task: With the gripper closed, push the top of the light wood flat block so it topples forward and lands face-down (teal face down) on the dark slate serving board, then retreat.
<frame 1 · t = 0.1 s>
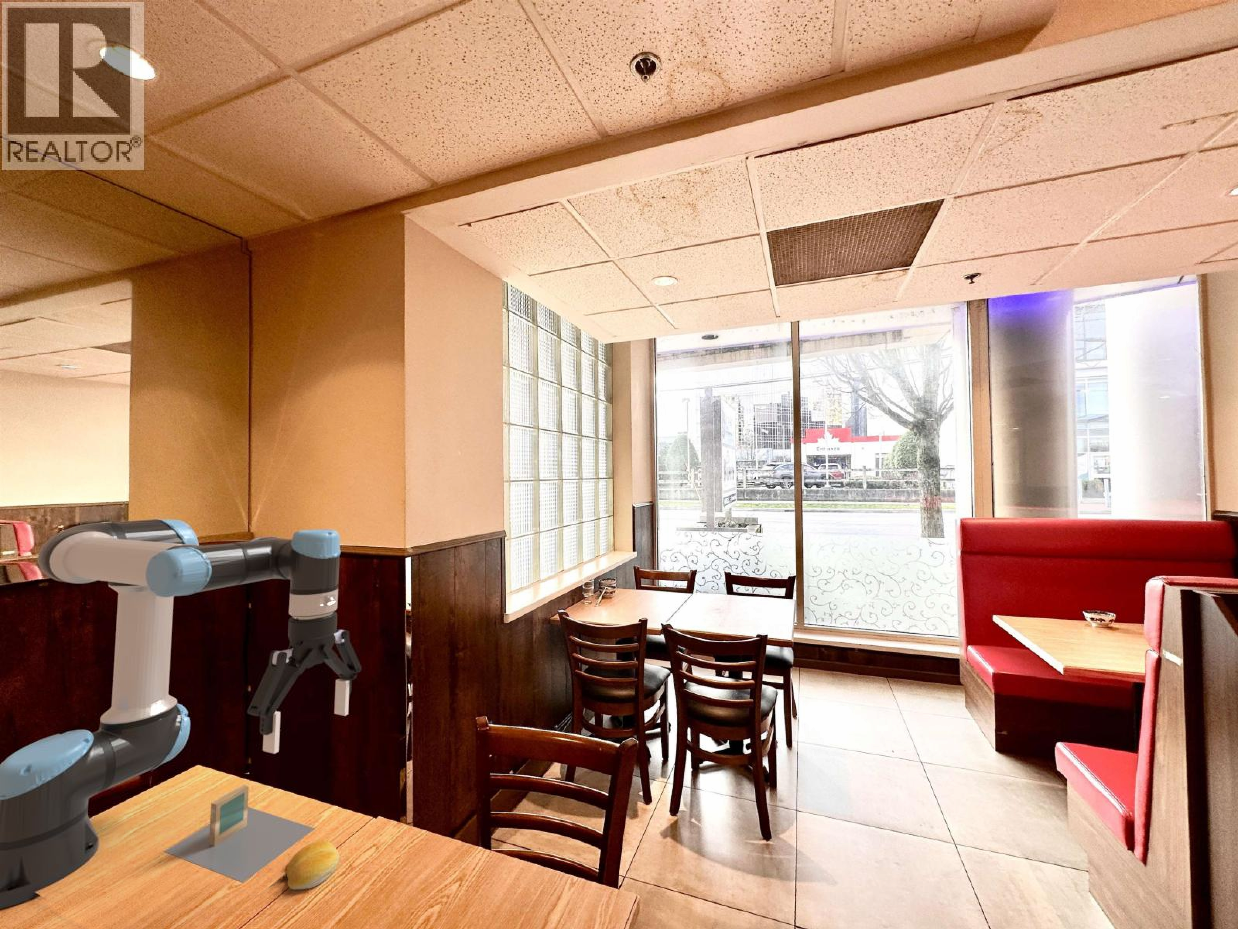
hand: (308, 731, 85), 28 cm above the table, fingers open, 13 cm apart
slate board: (241, 845, 94), on the table
bread roll: (312, 873, 88), on the table
light wood flat block: (228, 834, 95), point 1 cm above the table, touching slate board
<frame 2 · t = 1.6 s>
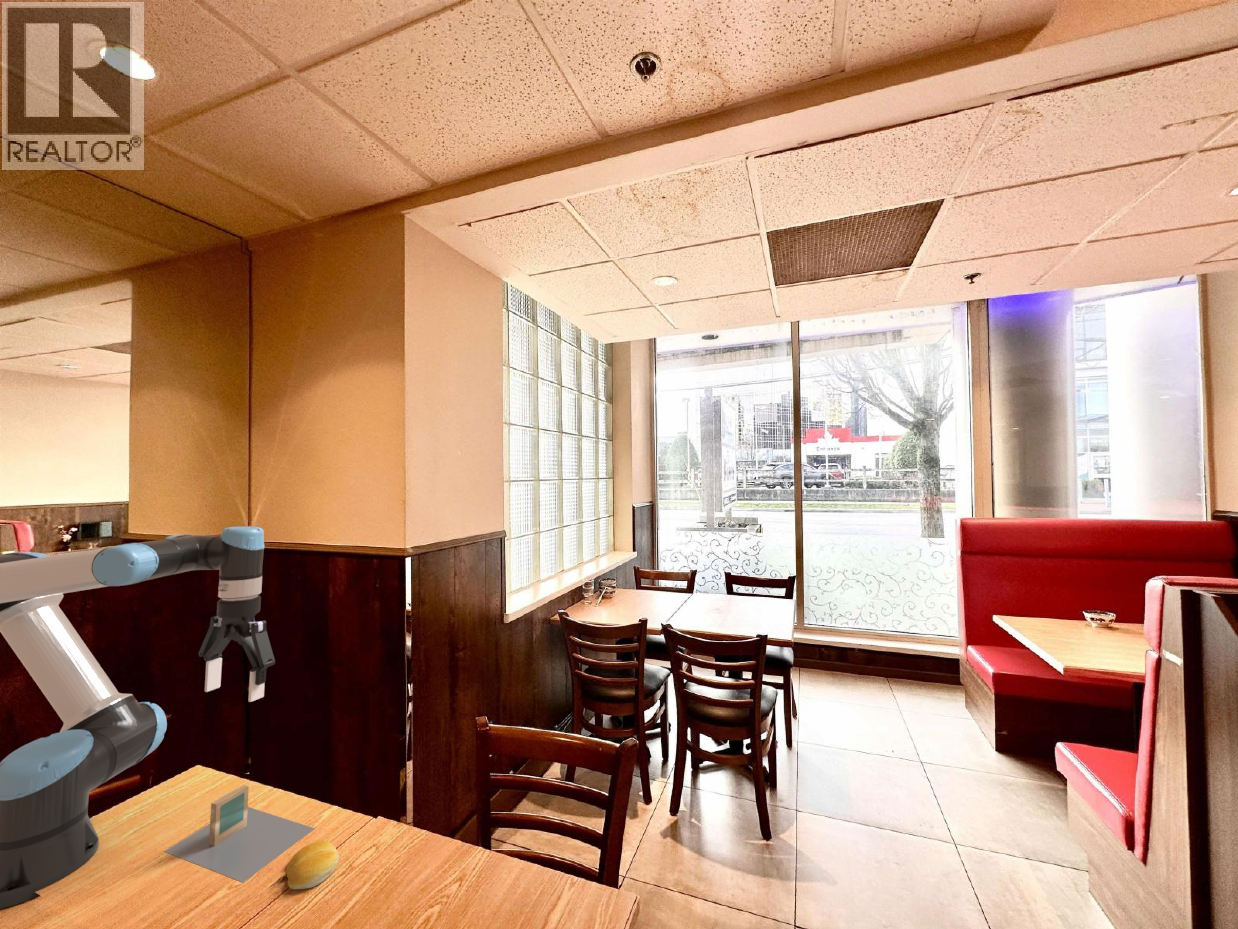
hand: (233, 694, 103), 27 cm above the table, fingers open, 13 cm apart
nothing on the table moved.
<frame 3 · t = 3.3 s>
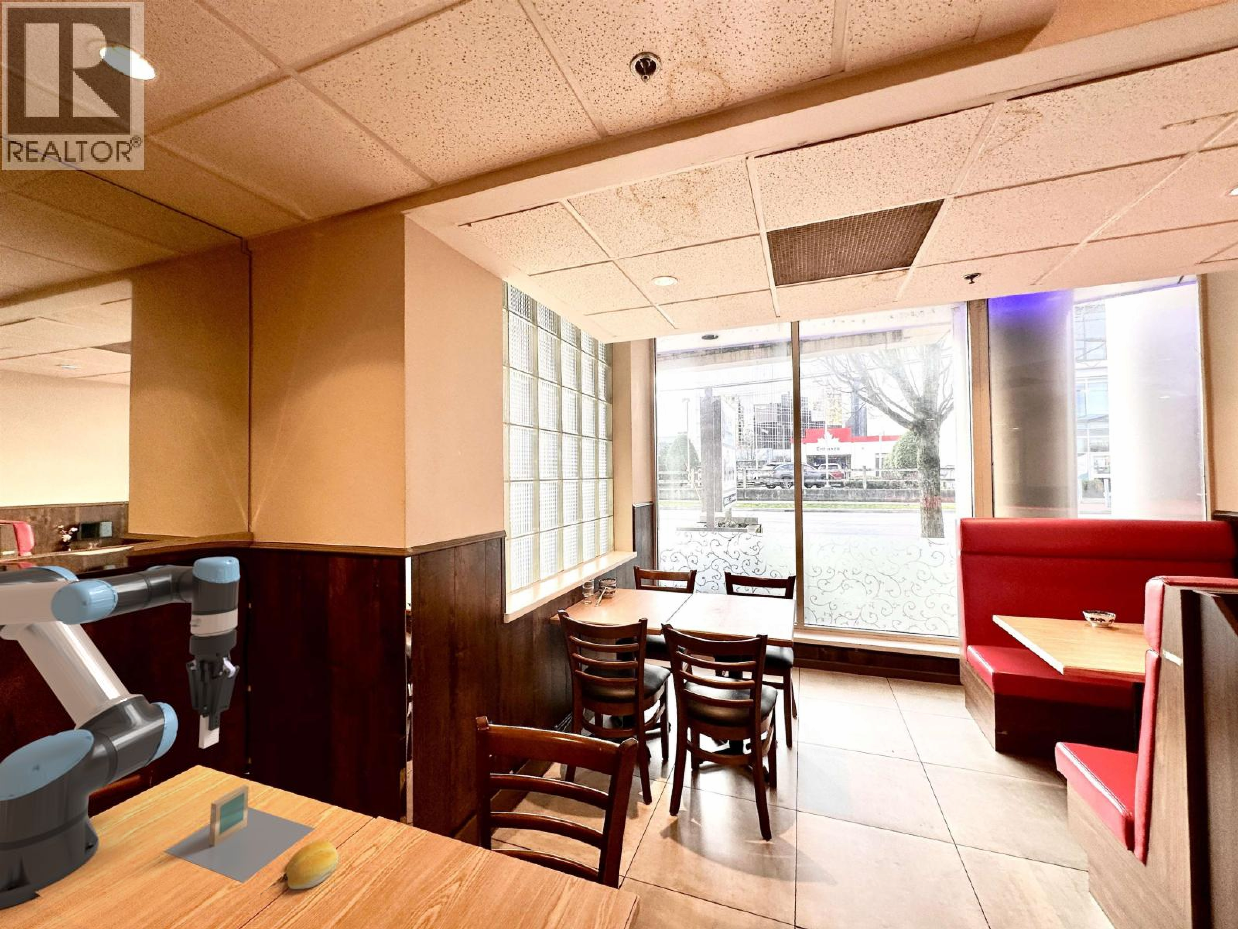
hand: (208, 744, 98), 18 cm above the table, fingers closed
nothing on the table moved.
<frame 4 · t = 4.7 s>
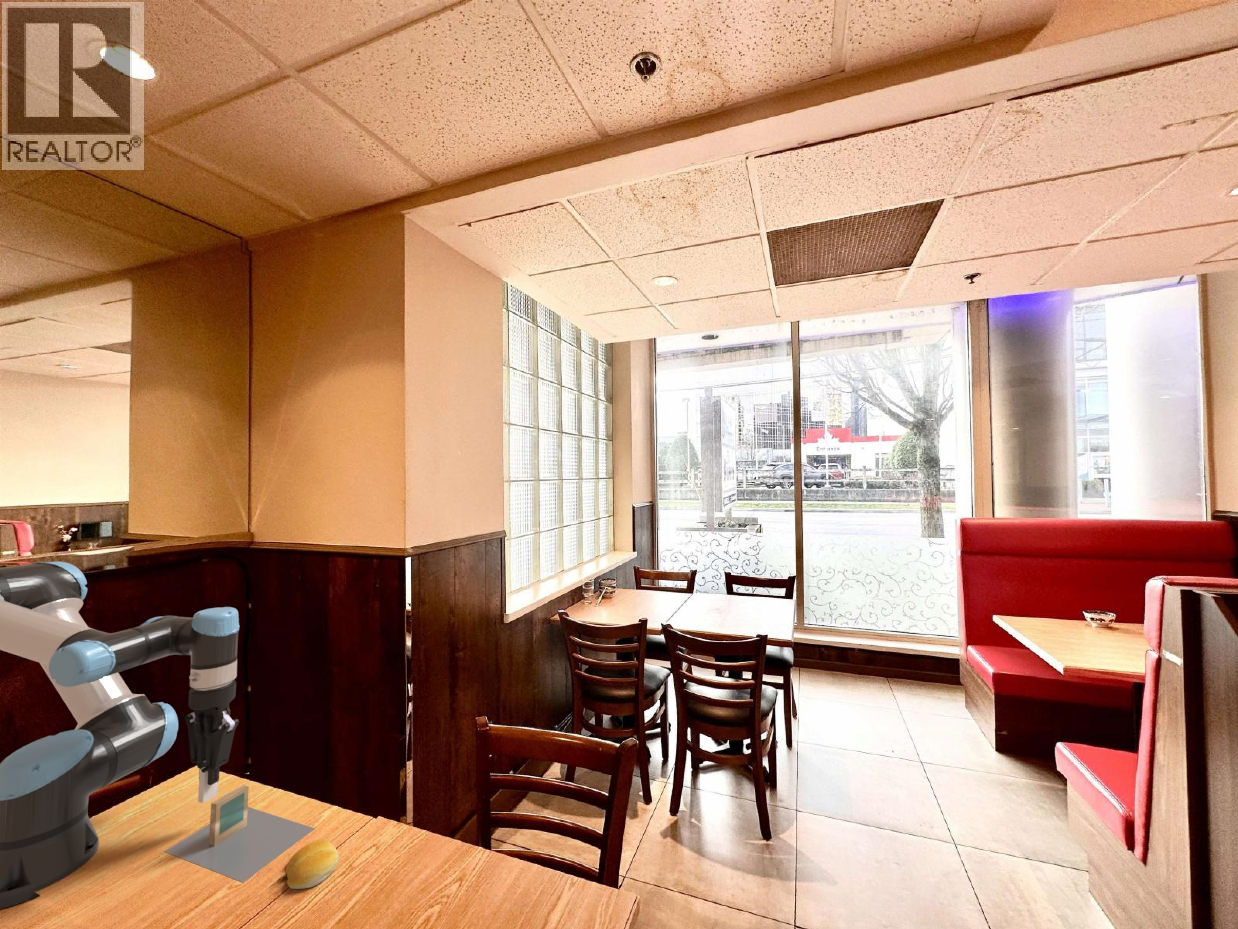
hand: (208, 798, 98), 7 cm above the table, fingers closed
nothing on the table moved.
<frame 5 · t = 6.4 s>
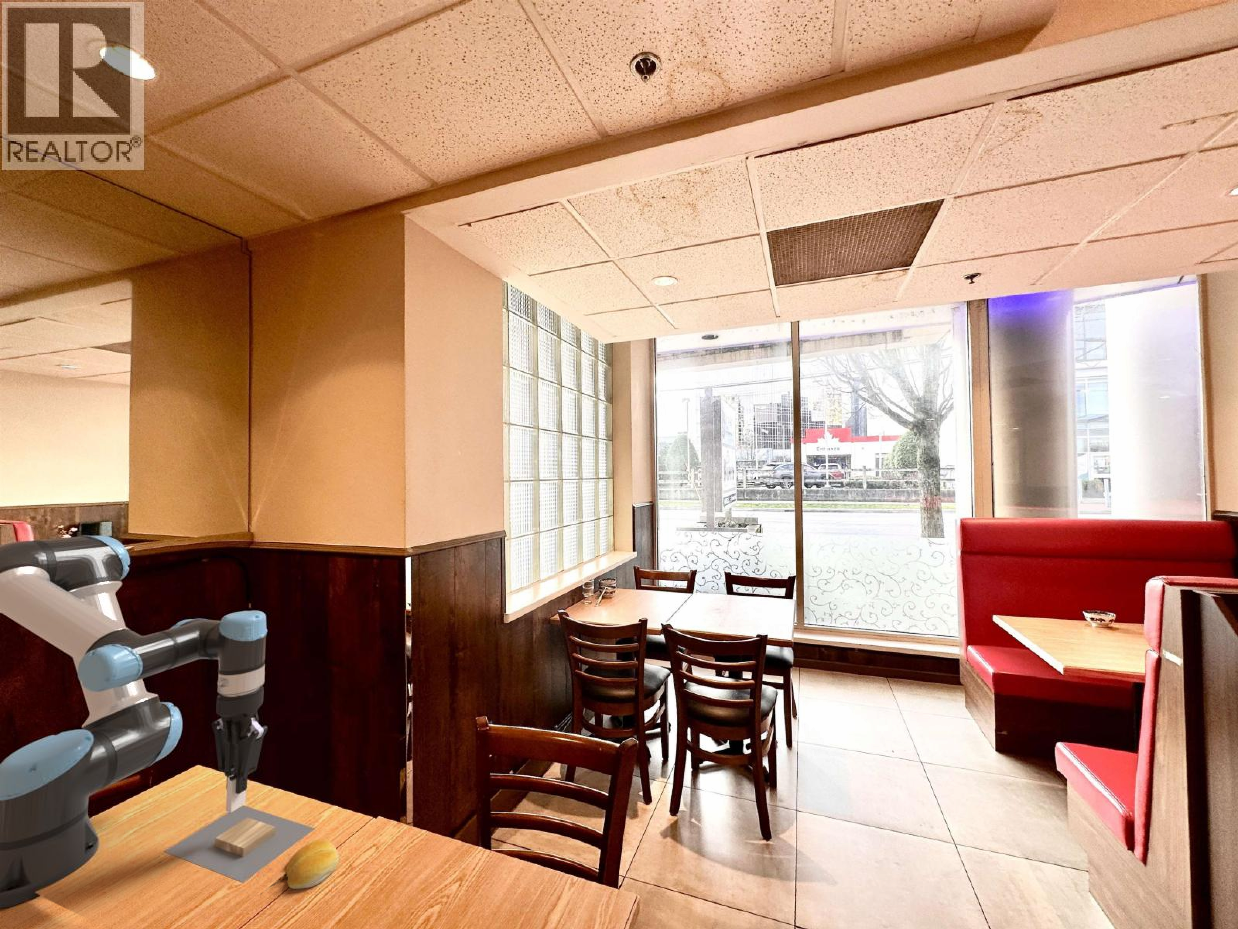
hand: (235, 807, 95), 7 cm above the table, fingers closed
light wood flat block: (231, 831, 95), point 2 cm above the table, tilted 90°, touching slate board
everything else where it was.
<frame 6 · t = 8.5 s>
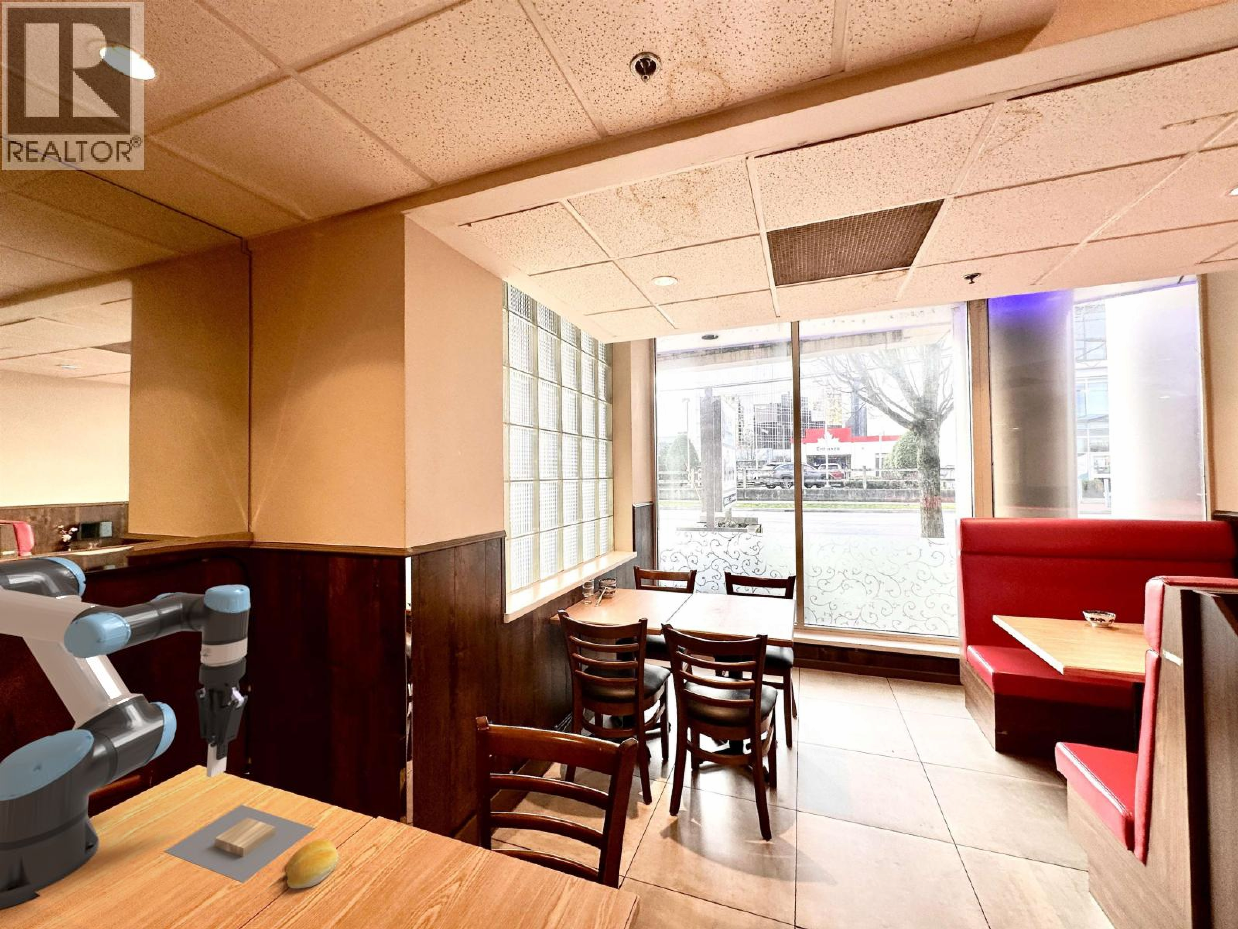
hand: (216, 773, 99), 12 cm above the table, fingers closed
nothing on the table moved.
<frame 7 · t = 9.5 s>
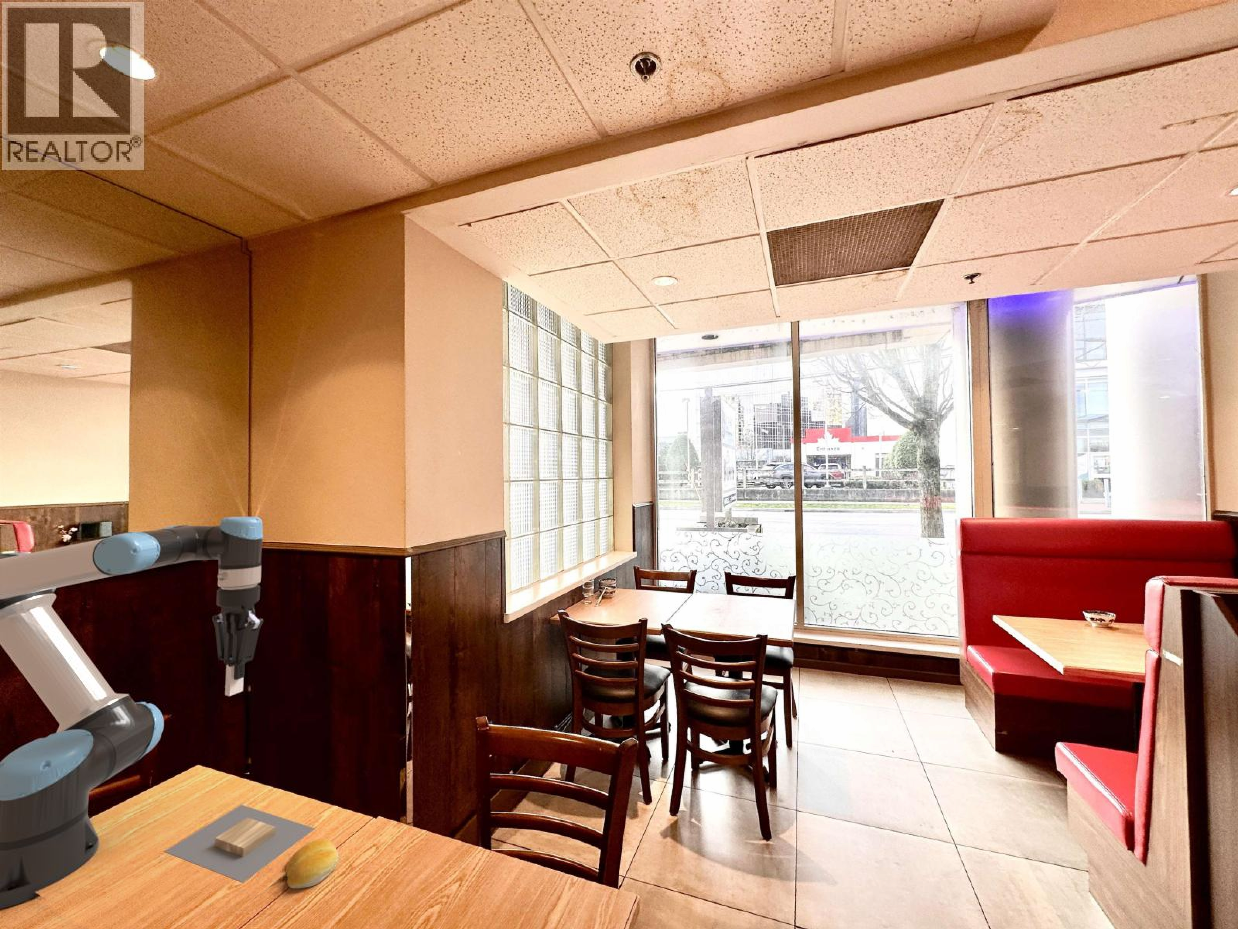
hand: (234, 693, 104), 26 cm above the table, fingers closed
nothing on the table moved.
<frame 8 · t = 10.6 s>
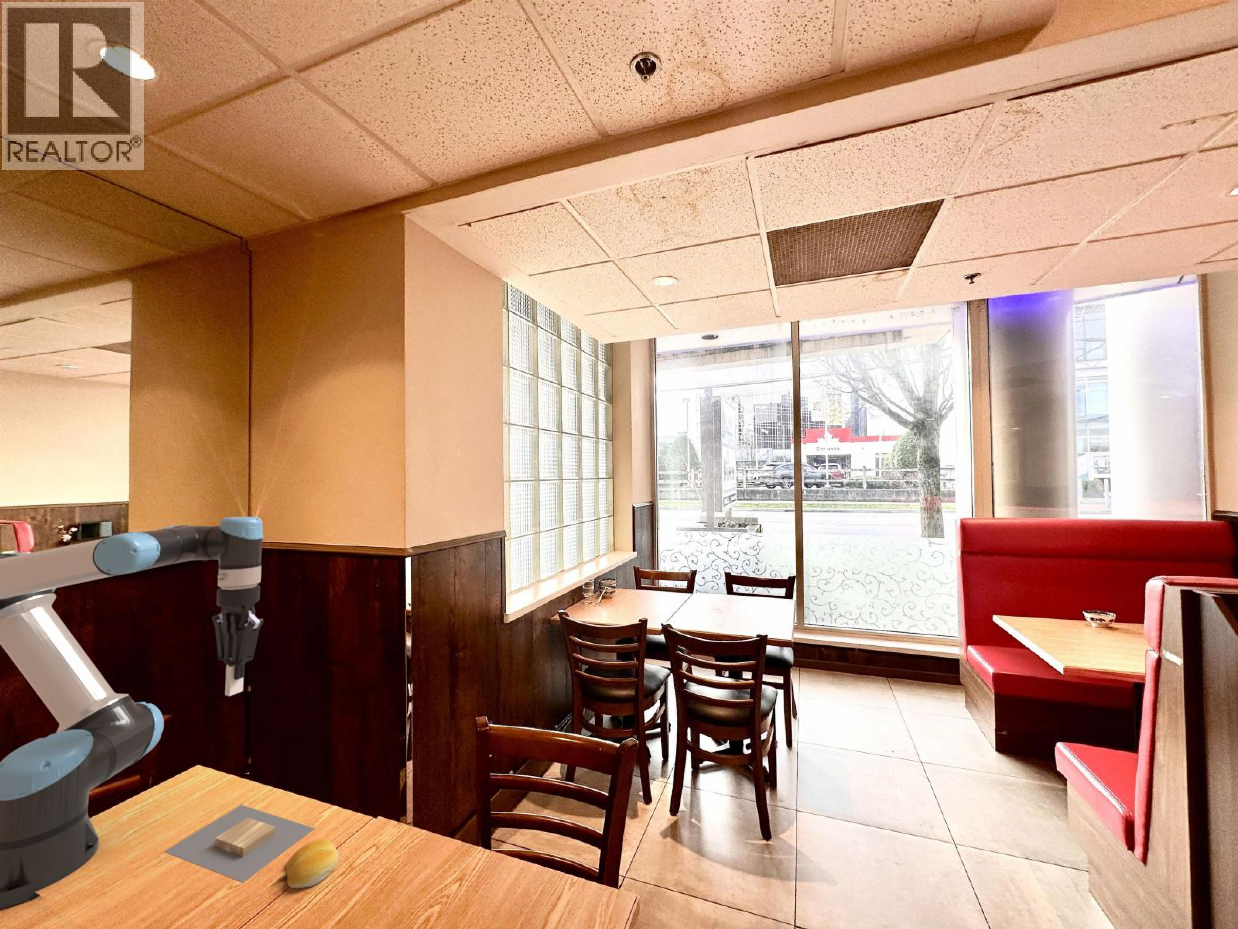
hand: (234, 693, 104), 26 cm above the table, fingers closed
nothing on the table moved.
at the end: light wood flat block tilted 90°; light wood flat block inside the target area (4.6 cm from its centre), point 2.0 cm above the table; light wood flat block touching slate board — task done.
